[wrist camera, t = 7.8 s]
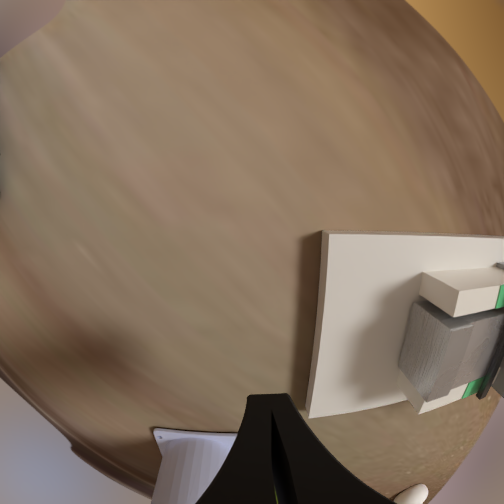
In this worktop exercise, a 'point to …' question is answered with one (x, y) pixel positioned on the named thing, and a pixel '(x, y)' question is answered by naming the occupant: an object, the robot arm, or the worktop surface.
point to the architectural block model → (392, 311)
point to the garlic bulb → (412, 495)
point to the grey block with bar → (451, 349)
